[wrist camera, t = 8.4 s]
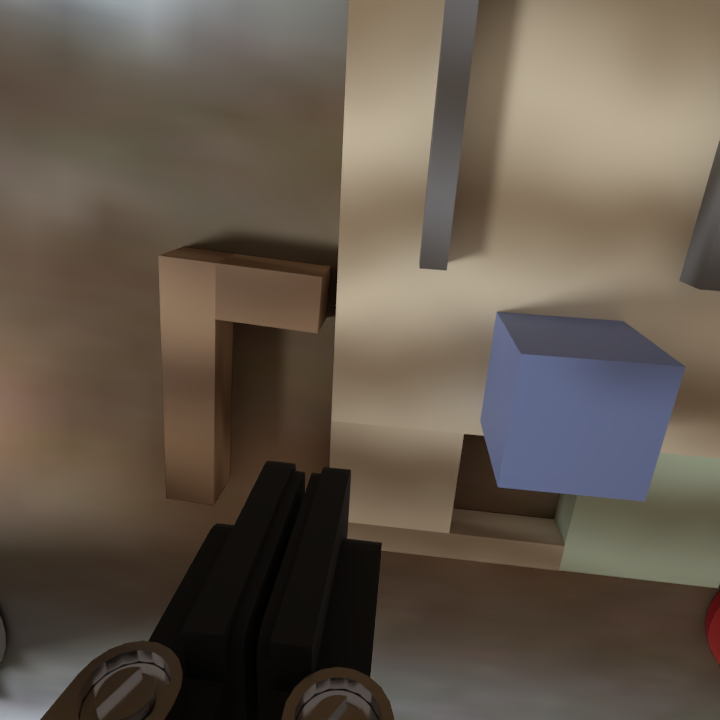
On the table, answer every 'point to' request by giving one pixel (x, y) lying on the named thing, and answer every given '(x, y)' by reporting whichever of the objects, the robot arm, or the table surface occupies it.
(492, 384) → the indigo block
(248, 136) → the table surface
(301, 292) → the walnut crook
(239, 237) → the table surface
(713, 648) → the canned food
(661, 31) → the board
